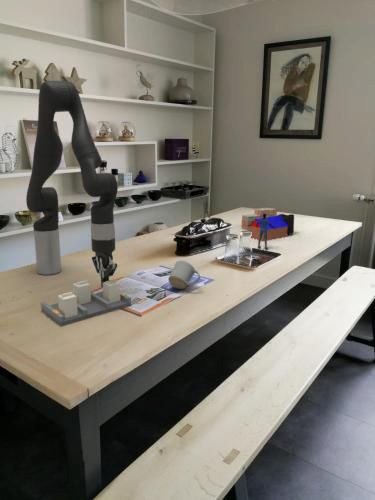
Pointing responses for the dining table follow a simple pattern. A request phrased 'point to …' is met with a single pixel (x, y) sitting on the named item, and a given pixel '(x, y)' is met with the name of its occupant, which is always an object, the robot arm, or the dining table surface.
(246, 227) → the stack of blocks
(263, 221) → the person figurine
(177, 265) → the ceramic mug
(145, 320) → the dining table surface
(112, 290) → the white rectangular block
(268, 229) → the house
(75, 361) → the dining table surface
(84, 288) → the off-white rectangular block
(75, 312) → the cream upright block
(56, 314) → the switch bank
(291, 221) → the pen holder
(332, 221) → the dining table surface
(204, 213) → the pliers
